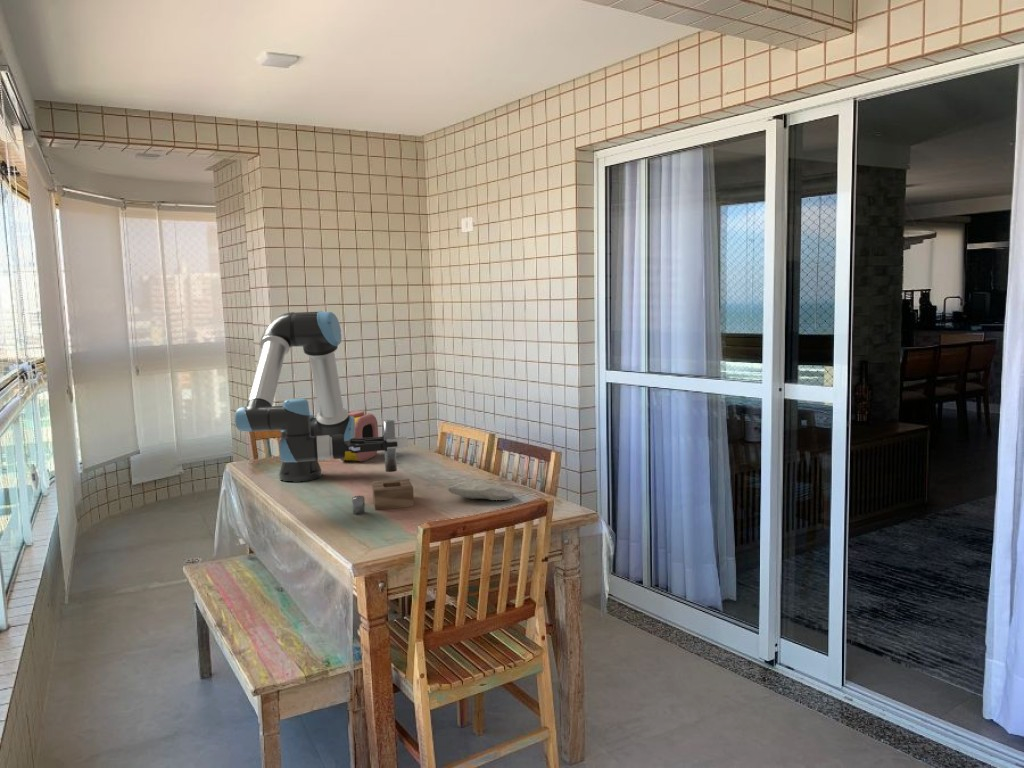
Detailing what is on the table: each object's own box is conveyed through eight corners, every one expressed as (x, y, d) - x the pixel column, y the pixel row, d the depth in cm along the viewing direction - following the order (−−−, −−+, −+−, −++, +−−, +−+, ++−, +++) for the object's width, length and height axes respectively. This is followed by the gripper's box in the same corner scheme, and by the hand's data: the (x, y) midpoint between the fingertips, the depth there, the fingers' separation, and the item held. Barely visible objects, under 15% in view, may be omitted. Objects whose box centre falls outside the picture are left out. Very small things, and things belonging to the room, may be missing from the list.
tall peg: (385, 470, 246) (382, 420, 244) (396, 469, 247) (393, 419, 245) (385, 472, 243) (383, 422, 241) (397, 471, 244) (394, 421, 242)
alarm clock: (360, 464, 305) (357, 416, 302) (335, 463, 308) (332, 415, 306) (380, 454, 322) (378, 409, 320) (356, 454, 325) (354, 408, 323)
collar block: (372, 500, 251) (371, 482, 250) (409, 496, 254) (408, 478, 253) (375, 509, 239) (374, 490, 238) (413, 506, 242) (412, 487, 241)
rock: (484, 492, 265) (431, 490, 255) (486, 475, 265) (433, 472, 255) (519, 508, 244) (462, 506, 234) (521, 489, 244) (465, 487, 234)
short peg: (352, 512, 237) (352, 496, 237) (364, 511, 238) (363, 495, 238) (353, 515, 234) (352, 499, 233) (365, 514, 235) (364, 498, 234)
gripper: (332, 453, 248) (405, 448, 254) (332, 464, 232) (410, 458, 238) (330, 430, 247) (404, 425, 253) (331, 440, 231) (409, 434, 237)
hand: (406, 441), depth 245 cm, fingers closed on tall peg, 3 cm apart
